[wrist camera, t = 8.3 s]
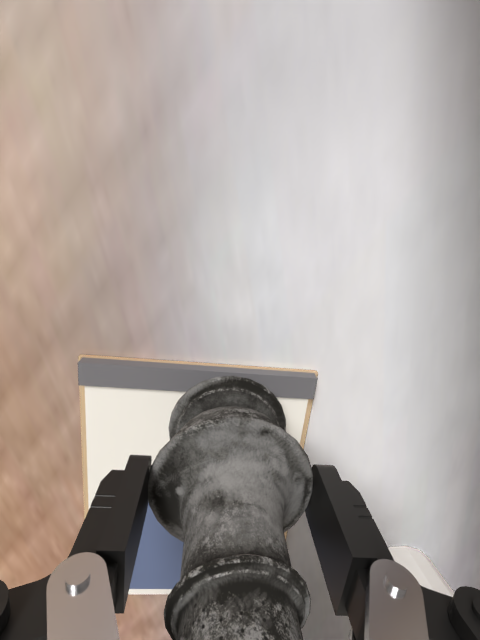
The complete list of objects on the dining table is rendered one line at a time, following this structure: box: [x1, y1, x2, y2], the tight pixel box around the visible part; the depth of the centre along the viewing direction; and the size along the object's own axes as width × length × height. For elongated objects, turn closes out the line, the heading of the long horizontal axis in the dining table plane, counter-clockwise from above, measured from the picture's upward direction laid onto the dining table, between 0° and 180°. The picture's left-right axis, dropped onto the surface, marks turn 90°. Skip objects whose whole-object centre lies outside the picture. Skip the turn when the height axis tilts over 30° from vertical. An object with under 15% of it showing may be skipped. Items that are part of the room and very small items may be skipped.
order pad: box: [78, 355, 318, 594], centre depth 19 cm, size 16×12×1 cm
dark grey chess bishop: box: [148, 376, 313, 640], centre depth 10 cm, size 6×6×12 cm
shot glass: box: [388, 546, 454, 597], centre depth 20 cm, size 7×7×7 cm
